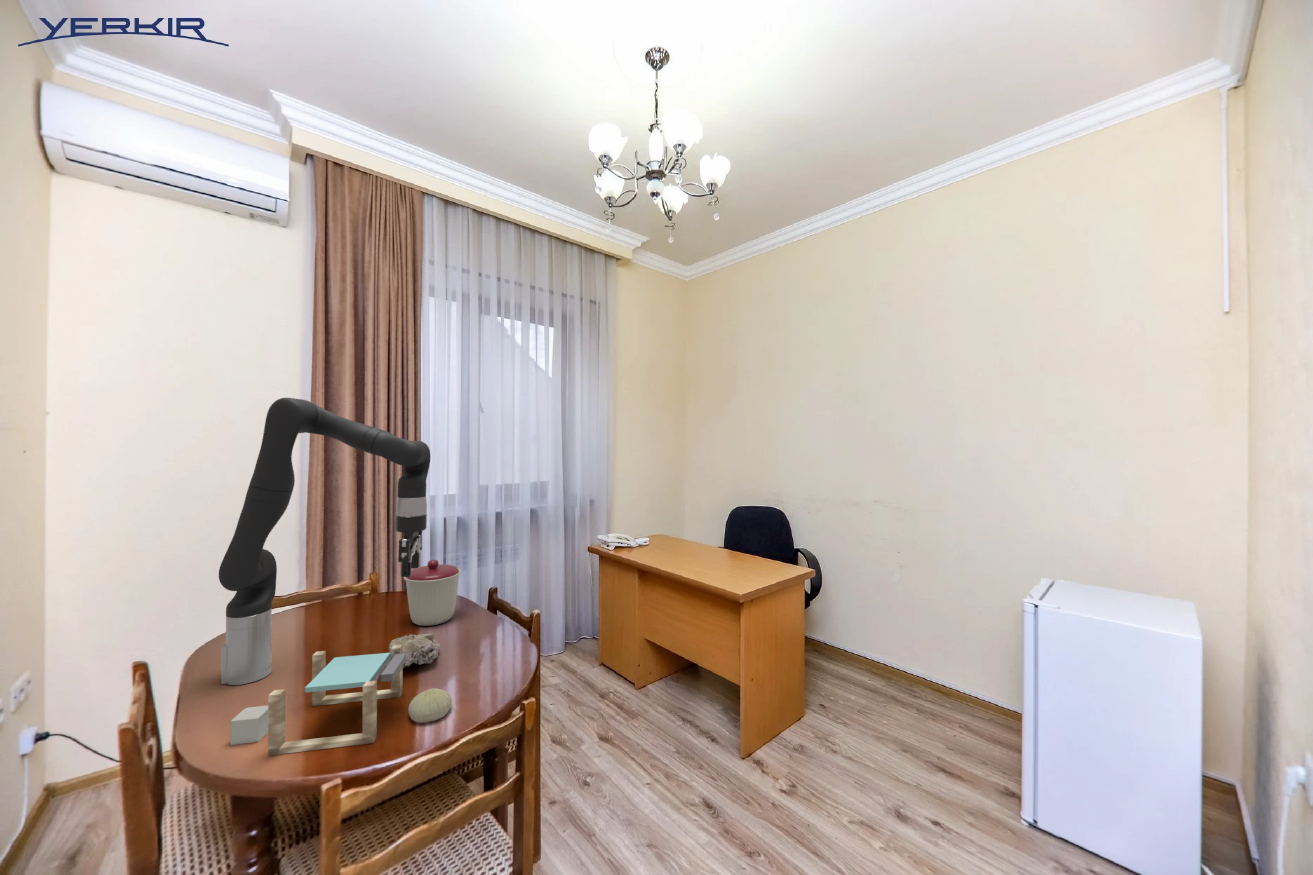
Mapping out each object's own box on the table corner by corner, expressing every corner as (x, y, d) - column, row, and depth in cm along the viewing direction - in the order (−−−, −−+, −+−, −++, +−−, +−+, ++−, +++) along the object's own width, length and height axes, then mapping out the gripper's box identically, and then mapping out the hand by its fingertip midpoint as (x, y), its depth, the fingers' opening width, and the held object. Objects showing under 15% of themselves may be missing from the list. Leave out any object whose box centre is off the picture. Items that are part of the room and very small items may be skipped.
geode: (421, 665, 144) (372, 678, 131) (419, 632, 147) (370, 642, 134) (459, 655, 137) (411, 668, 125) (456, 621, 140) (409, 630, 128)
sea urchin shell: (406, 723, 103) (408, 684, 108) (408, 734, 108) (409, 697, 114) (452, 713, 107) (452, 676, 112) (452, 724, 112) (451, 689, 117)
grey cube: (230, 745, 99) (230, 721, 99) (245, 730, 104) (245, 707, 104) (258, 741, 100) (258, 718, 100) (272, 727, 105) (272, 704, 105)
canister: (468, 621, 165) (468, 560, 165) (411, 635, 153) (412, 570, 153) (450, 607, 179) (451, 551, 179) (397, 619, 167) (397, 559, 167)
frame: (268, 755, 95) (268, 695, 95) (316, 701, 115) (316, 651, 115) (373, 742, 100) (373, 685, 100) (402, 692, 119) (402, 644, 119)
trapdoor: (408, 656, 117) (408, 649, 117) (389, 685, 103) (389, 677, 103) (334, 662, 113) (334, 656, 113) (304, 693, 99) (304, 686, 99)
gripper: (404, 509, 138) (402, 565, 137) (388, 517, 124) (387, 580, 124) (432, 509, 139) (431, 564, 139) (419, 517, 125) (418, 579, 125)
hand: (410, 572), depth 131 cm, fingers open, 8 cm apart
